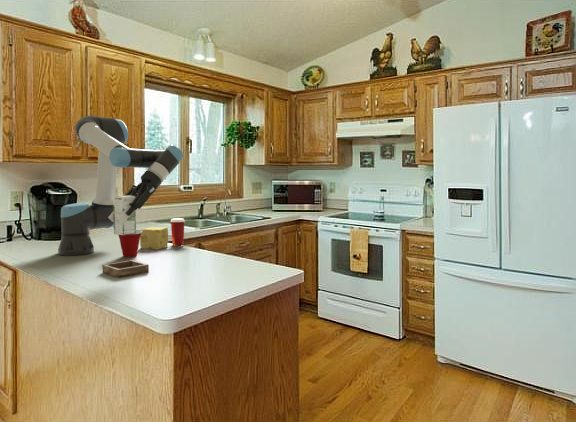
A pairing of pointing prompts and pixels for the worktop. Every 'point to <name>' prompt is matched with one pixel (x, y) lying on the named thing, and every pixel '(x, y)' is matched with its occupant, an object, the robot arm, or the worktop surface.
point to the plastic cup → (130, 244)
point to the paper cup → (177, 231)
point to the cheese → (154, 238)
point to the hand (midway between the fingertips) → (115, 220)
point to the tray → (125, 268)
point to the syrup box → (119, 206)
